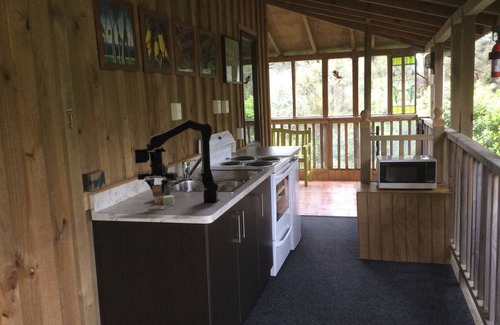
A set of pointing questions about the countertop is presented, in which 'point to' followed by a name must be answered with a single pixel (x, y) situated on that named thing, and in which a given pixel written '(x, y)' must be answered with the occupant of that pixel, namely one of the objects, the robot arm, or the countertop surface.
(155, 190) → the walnut block
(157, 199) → the dome-topped tan cylinder
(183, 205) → the countertop surface
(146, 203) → the countertop surface
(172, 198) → the sage block
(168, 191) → the mortar and pestle
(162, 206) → the slate coaster
